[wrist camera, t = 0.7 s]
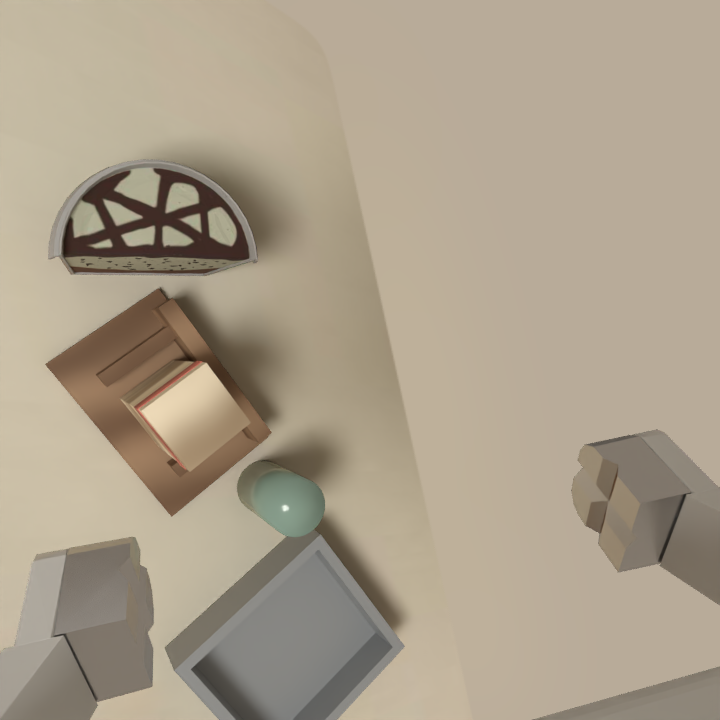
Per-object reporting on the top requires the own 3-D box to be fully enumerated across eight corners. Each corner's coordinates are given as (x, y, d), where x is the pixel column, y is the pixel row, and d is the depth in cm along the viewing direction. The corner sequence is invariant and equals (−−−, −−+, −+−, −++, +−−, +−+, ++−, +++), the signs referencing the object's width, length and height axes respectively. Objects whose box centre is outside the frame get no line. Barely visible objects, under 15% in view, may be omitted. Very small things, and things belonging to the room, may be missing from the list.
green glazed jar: (227, 483, 50) (258, 506, 43) (267, 450, 51) (303, 466, 44) (256, 521, 51) (292, 549, 44) (295, 488, 52) (335, 509, 45)
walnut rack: (45, 364, 44) (45, 365, 41) (157, 289, 47) (165, 284, 44) (170, 514, 48) (179, 526, 45) (265, 435, 51) (281, 441, 48)
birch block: (118, 398, 46) (139, 410, 36) (171, 359, 47) (206, 361, 37) (158, 447, 47) (189, 473, 37) (209, 408, 49) (252, 422, 39)
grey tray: (164, 647, 48) (174, 670, 44) (302, 522, 53) (320, 534, 49) (261, 755, 51) (277, 784, 48) (382, 628, 56) (404, 646, 53)
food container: (221, 195, 49) (261, 161, 40) (224, 275, 50) (265, 259, 41) (42, 183, 44) (42, 140, 35) (47, 274, 44) (48, 254, 35)
